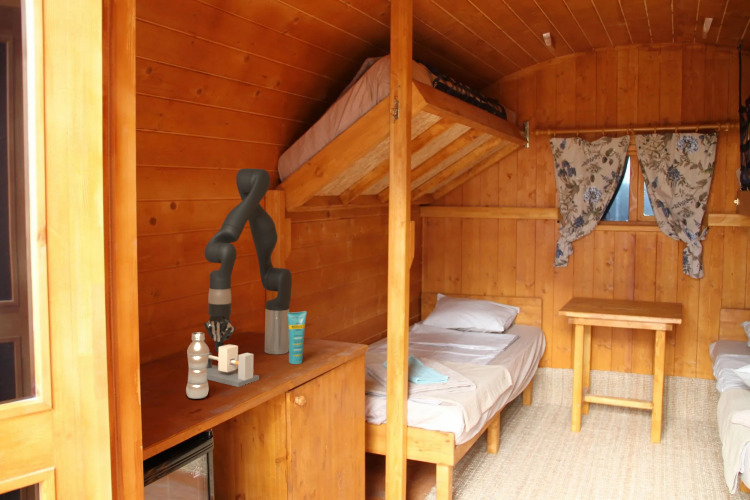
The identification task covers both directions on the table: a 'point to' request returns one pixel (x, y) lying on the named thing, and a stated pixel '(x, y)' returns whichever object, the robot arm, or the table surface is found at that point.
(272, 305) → the robot arm
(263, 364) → the table surface
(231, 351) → the sleeve
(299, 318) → the tube
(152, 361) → the table surface
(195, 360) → the plastic bottle
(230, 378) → the rod slider fixture
